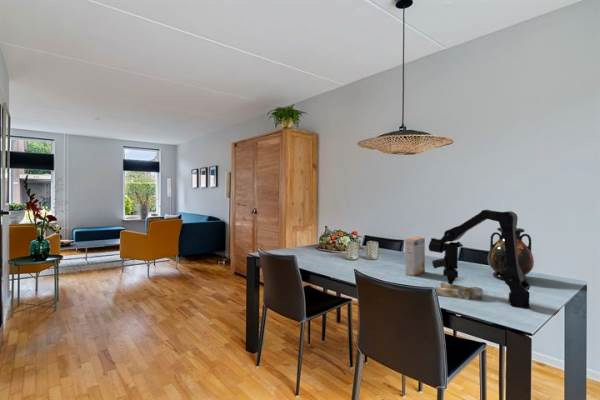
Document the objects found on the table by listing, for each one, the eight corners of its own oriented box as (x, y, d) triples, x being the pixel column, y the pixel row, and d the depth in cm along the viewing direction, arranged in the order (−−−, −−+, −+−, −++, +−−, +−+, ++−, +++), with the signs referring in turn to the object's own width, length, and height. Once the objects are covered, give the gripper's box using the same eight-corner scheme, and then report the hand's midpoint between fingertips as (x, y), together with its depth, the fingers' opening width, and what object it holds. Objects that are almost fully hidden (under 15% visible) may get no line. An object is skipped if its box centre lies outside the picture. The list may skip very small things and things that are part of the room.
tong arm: (484, 297, 145) (484, 288, 145) (480, 299, 141) (480, 290, 141) (442, 288, 158) (442, 280, 158) (438, 290, 155) (438, 282, 155)
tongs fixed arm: (468, 297, 146) (468, 289, 146) (468, 299, 143) (469, 291, 143) (435, 293, 152) (435, 285, 152) (435, 294, 149) (435, 287, 149)
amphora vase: (488, 280, 174) (489, 229, 173) (486, 271, 193) (487, 225, 192) (537, 286, 164) (538, 231, 163) (529, 276, 183) (530, 227, 182)
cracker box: (415, 270, 196) (415, 236, 195) (425, 272, 191) (425, 237, 191) (404, 274, 186) (404, 238, 185) (414, 276, 182) (414, 239, 181)
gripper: (434, 249, 168) (433, 278, 169) (432, 256, 151) (431, 289, 152) (458, 251, 163) (456, 281, 164) (458, 259, 146) (457, 293, 147)
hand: (449, 286), depth 157 cm, fingers closed
